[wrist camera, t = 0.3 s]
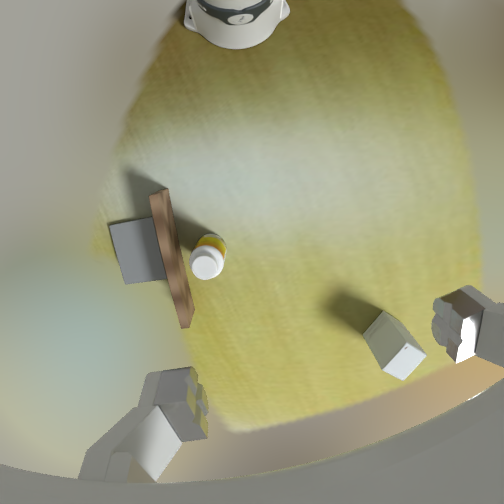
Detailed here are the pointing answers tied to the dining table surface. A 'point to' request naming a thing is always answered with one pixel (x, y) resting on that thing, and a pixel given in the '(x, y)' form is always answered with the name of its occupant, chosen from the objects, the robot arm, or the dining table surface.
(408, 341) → the supplement box
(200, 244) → the supplement bottle
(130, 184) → the dining table surface
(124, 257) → the grey mat
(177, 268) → the walnut screen
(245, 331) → the dining table surface
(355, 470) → the robot arm
